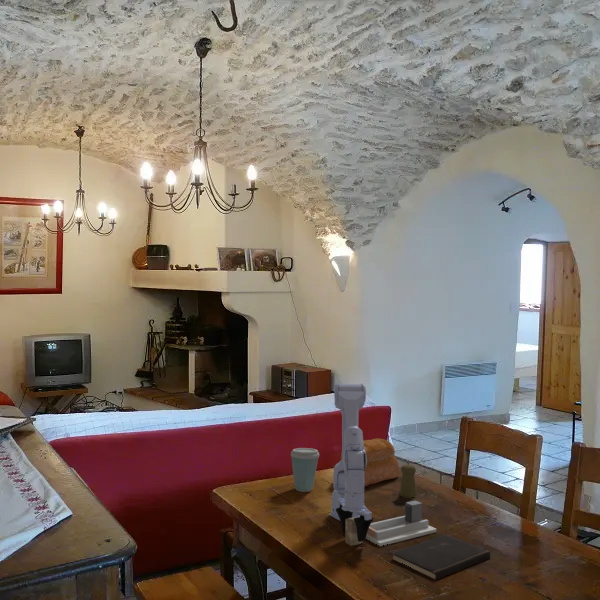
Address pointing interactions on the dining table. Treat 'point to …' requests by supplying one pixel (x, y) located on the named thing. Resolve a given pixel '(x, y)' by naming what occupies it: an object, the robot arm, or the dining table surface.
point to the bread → (379, 461)
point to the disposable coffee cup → (304, 468)
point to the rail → (400, 526)
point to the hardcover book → (441, 556)
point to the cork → (408, 481)
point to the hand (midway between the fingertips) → (353, 536)
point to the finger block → (351, 532)
